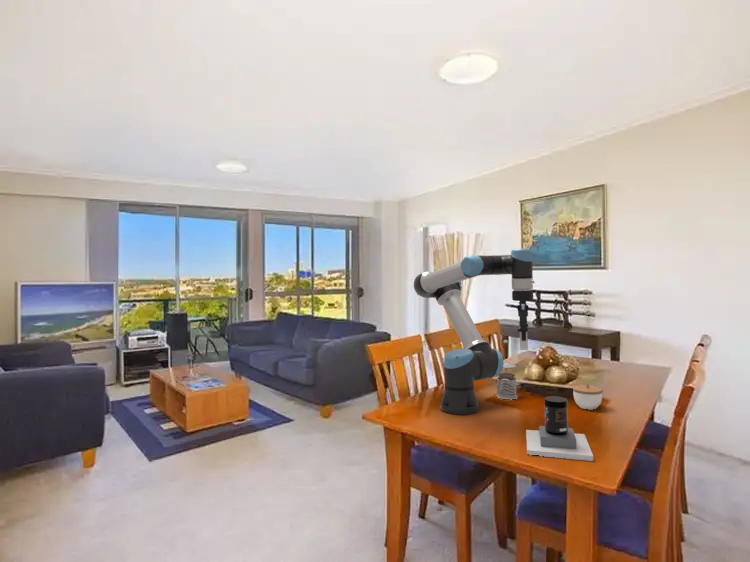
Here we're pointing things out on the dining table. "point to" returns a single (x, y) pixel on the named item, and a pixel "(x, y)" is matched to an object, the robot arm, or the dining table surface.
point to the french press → (506, 382)
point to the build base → (559, 451)
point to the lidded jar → (587, 396)
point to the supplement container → (556, 415)
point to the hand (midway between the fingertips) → (523, 346)
